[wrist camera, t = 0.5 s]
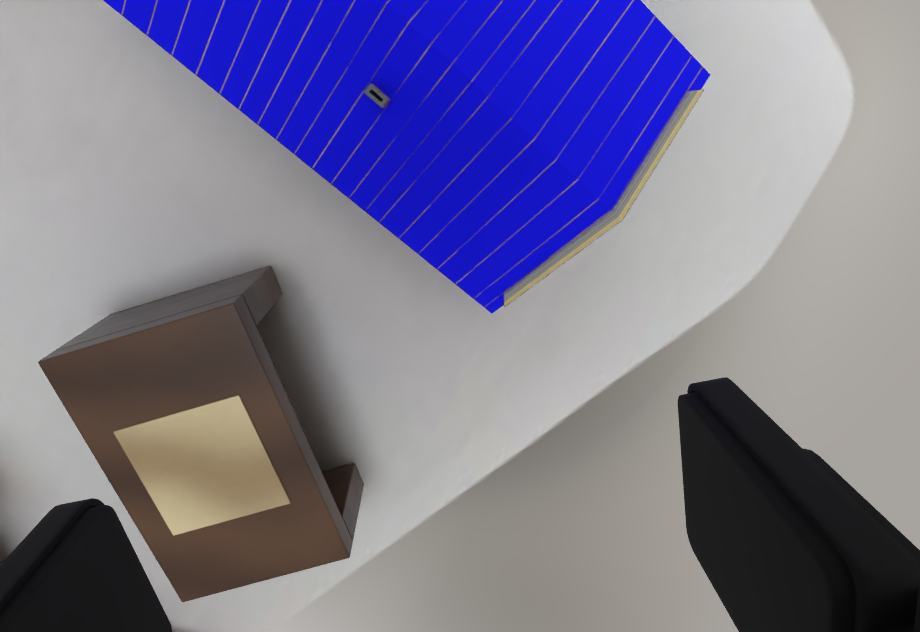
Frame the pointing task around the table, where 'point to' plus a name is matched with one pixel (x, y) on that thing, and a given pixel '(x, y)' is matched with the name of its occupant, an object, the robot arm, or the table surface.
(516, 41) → the roof
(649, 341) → the table surface
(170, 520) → the shelf
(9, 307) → the table surface
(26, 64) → the table surface
